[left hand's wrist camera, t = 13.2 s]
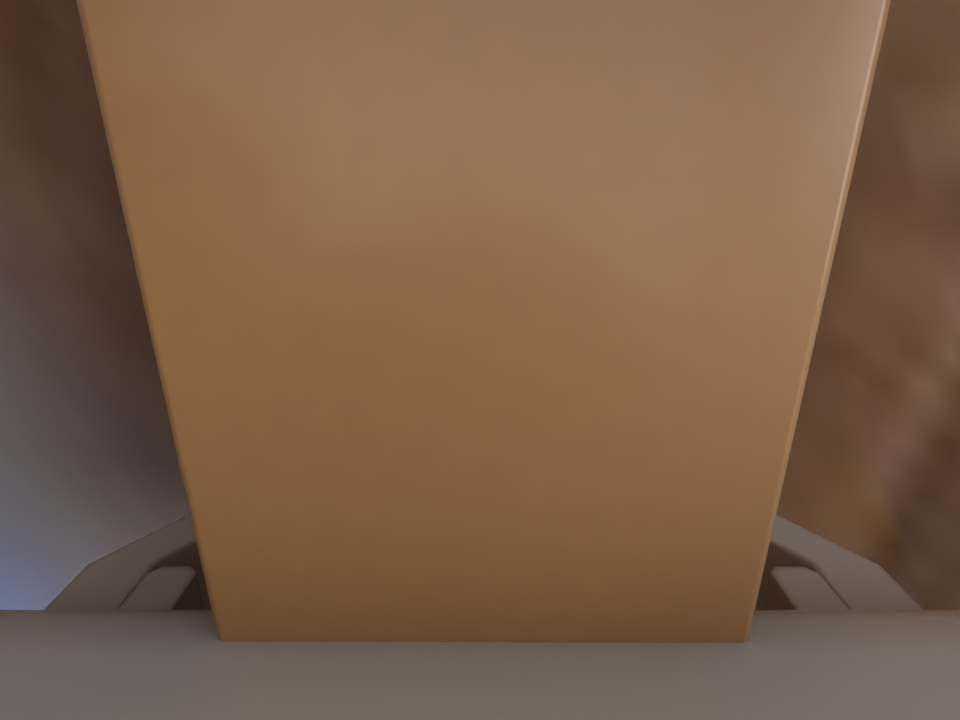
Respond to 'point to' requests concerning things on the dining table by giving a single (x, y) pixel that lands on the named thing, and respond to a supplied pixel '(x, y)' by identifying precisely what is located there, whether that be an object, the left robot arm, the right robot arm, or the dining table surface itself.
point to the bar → (483, 298)
